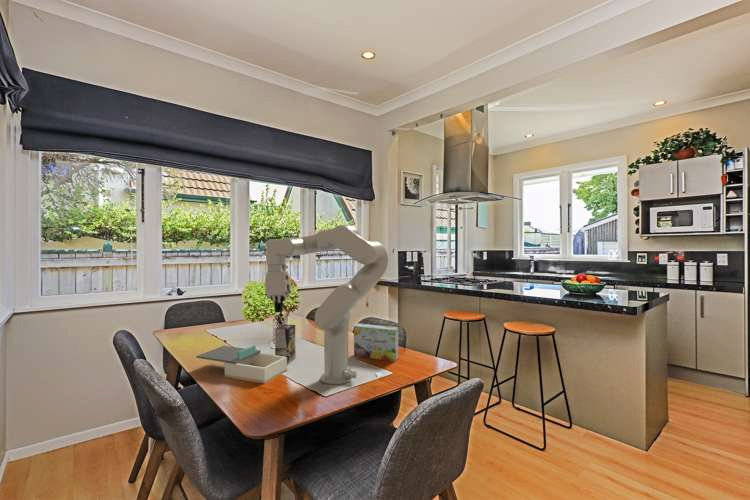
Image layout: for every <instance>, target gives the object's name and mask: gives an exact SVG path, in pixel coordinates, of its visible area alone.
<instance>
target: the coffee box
mask: <svg viewBox="0 0 750 500" xmlns="http://www.w3.org/2000/svg"><path fill="white" fill-rule="evenodd" d="M296 347H297V346H296V324H282V325H279V326H277V327H276V328H275V329H274V351H275V352H274V355H276V356H283V357H287V365H289V364H290V363H292V362H293V361H294V360H295V359H296V355H297V354H296V350H297V349H296Z"/></svg>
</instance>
